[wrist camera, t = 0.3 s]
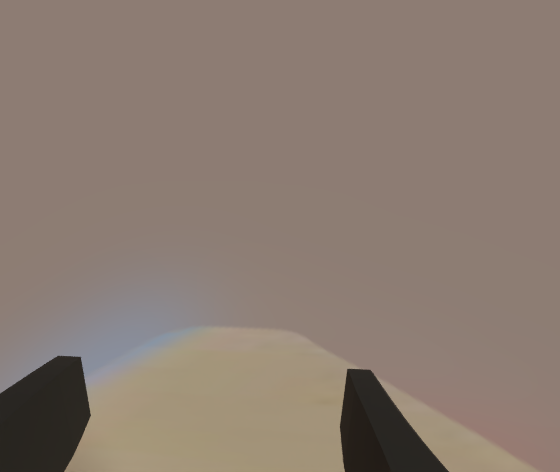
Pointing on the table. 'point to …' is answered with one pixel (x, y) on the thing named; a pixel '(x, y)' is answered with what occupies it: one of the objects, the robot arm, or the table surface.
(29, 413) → the robot arm
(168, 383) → the table surface
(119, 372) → the table surface
